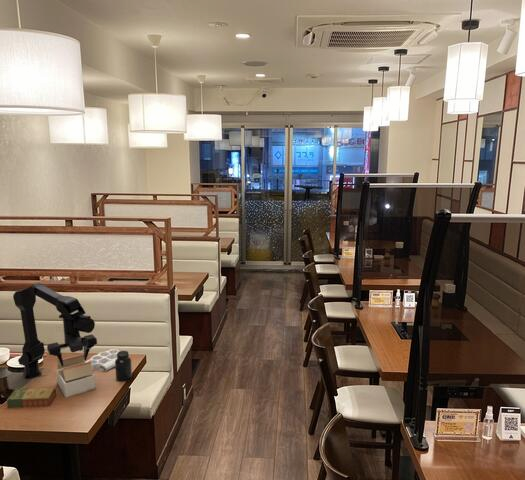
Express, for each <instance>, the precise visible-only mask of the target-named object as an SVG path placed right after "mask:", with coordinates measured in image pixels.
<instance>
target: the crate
mask: <svg viewBox="0 0 525 480" xmlns="http://www.w3.org/2000/svg"><path fill="white" fill-rule="evenodd" d="M63 369H64V368H61V369H57V370H55V372H56V373H55V375H56V384H57V386H58V387H59V389H60V390H61V392H62V394H63V396H64V397H65V398H69V397H73V396H76V395H79V394H83V393H86V392H90V391H93V389H94V390H96V376H95V374H94V373H93V374H91V375H87V376H84V377H80V378H76V379H73V380H69V381H65V377H64V372H63Z"/></svg>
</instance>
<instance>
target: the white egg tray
mask: <svg viewBox="0 0 525 480" xmlns="http://www.w3.org/2000/svg"><path fill="white" fill-rule="evenodd" d="M118 352H120V350H119V349H117V348H110V349H109V350H107V351H101V352H99V353H98V354H95V355H92V356H91V357H90V359H87V360H86V361H84V363H87V362H90V361H91V365H92V370H93V371H96V370H101V372H102V371H103V372H107V371H109V370H110V369H113V368H115V360H116V359H117V353H118Z"/></svg>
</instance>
